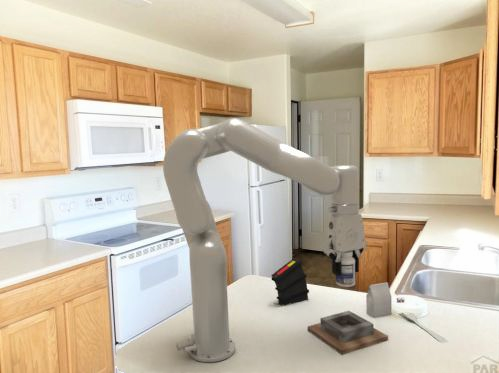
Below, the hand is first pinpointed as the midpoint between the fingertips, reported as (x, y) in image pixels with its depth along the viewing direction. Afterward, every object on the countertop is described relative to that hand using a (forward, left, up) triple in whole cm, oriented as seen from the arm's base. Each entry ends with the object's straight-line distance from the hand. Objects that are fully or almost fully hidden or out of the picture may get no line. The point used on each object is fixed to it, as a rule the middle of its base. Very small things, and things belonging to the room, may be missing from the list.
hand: (345, 272), depth 113 cm
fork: (+22, -7, -19) cm, 30 cm away
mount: (0, 0, -19) cm, 19 cm away
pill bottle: (0, 0, -4) cm, 4 cm away
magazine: (-1, +29, -19) cm, 35 cm away
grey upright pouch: (+18, +6, -19) cm, 27 cm away
